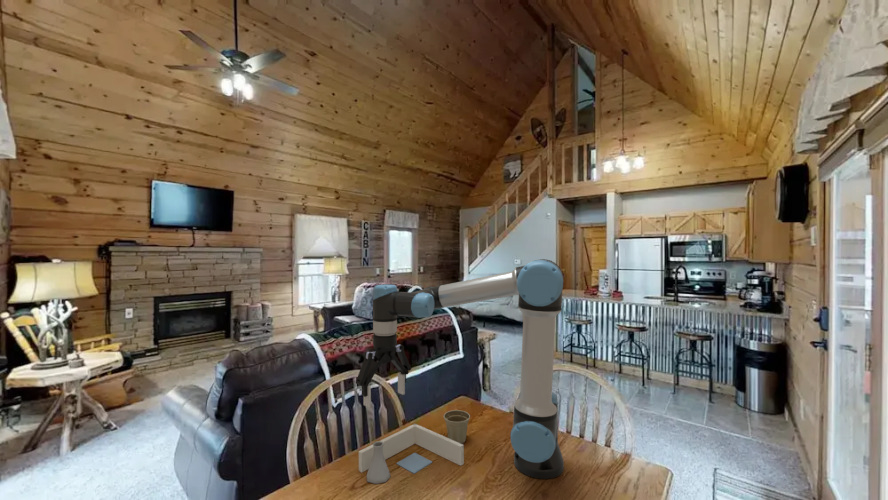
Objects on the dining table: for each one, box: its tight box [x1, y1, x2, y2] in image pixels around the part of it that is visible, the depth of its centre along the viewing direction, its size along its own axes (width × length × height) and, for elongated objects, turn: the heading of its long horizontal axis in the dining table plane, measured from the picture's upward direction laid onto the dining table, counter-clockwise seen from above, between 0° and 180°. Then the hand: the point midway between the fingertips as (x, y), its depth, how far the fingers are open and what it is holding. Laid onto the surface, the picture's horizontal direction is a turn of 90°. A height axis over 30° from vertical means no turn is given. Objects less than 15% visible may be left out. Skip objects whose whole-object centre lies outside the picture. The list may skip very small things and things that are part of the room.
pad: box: [396, 452, 433, 475], centre depth 119 cm, size 8×8×1 cm
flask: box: [366, 440, 391, 485], centre depth 112 cm, size 7×7×10 cm
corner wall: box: [358, 423, 465, 473], centre depth 117 cm, size 22×24×6 cm
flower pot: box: [443, 409, 471, 444], centre depth 134 cm, size 9×9×9 cm
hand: (384, 399), depth 121 cm, fingers open, 13 cm apart
